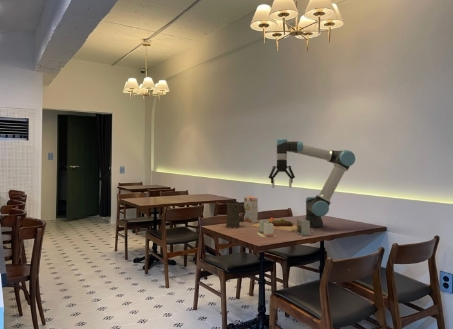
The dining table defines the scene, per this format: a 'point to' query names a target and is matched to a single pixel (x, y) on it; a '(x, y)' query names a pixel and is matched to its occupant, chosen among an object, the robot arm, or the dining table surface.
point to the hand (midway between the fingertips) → (281, 187)
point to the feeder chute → (303, 227)
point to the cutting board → (281, 224)
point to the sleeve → (268, 229)
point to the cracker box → (251, 209)
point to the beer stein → (234, 214)
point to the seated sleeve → (262, 226)
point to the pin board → (263, 235)
